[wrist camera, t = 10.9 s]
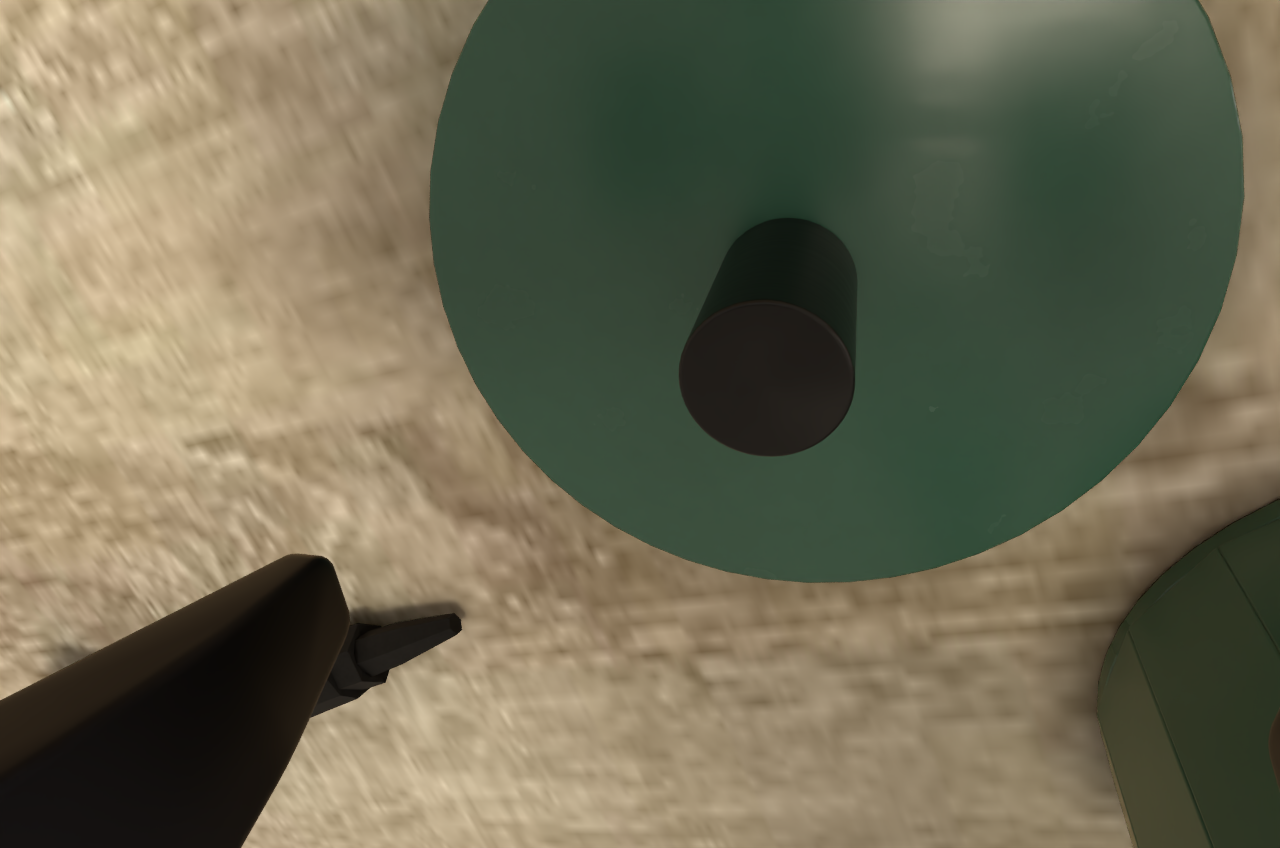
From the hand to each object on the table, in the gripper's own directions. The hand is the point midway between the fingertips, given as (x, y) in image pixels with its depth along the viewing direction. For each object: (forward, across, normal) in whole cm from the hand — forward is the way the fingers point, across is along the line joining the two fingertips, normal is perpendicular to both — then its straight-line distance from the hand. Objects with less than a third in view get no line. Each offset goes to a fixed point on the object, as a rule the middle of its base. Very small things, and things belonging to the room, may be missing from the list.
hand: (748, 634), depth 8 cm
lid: (+10, 0, 0) cm, 10 cm away
